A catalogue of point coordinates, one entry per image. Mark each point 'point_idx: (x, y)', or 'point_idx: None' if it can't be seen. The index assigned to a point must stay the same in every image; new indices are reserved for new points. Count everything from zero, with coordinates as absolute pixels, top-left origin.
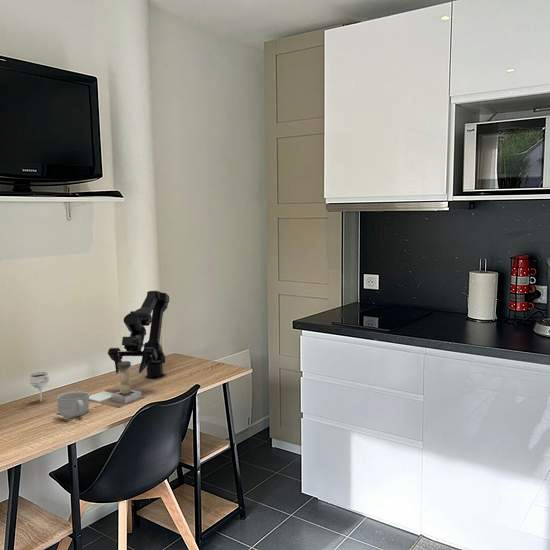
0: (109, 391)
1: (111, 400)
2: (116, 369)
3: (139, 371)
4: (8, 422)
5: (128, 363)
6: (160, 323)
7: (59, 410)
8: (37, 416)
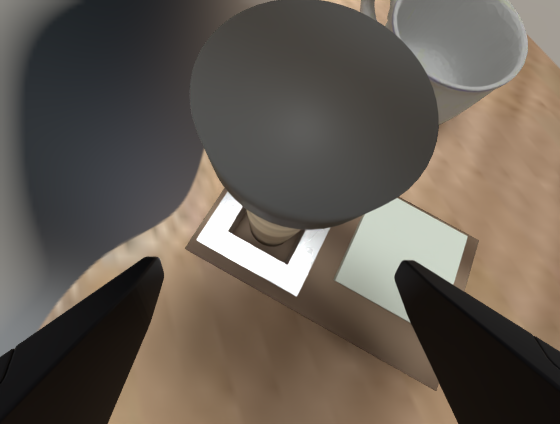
0: (409, 349)
1: None
2: (432, 276)
3: (146, 258)
4: (553, 71)
5: (210, 41)
6: None
7: (448, 39)
8: (511, 107)
